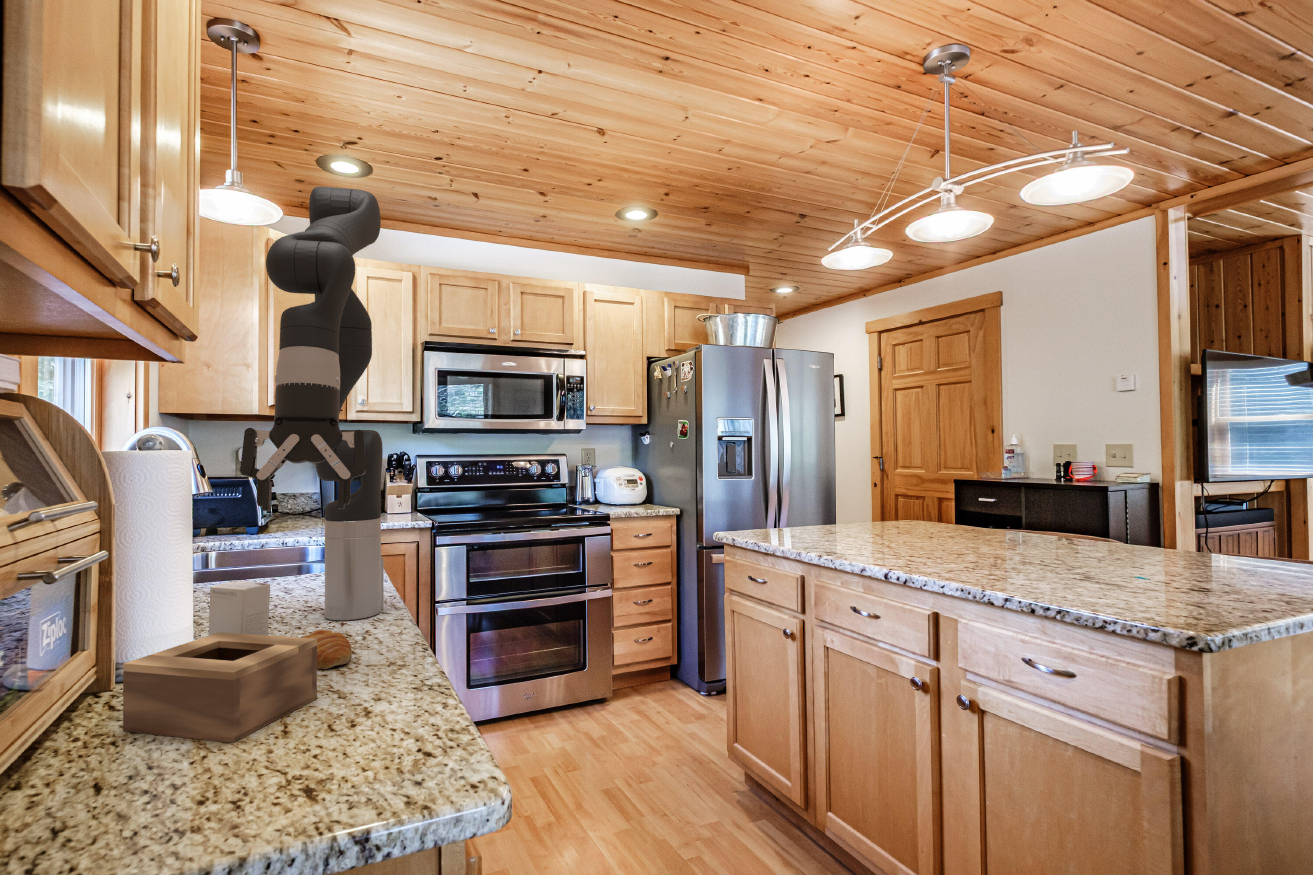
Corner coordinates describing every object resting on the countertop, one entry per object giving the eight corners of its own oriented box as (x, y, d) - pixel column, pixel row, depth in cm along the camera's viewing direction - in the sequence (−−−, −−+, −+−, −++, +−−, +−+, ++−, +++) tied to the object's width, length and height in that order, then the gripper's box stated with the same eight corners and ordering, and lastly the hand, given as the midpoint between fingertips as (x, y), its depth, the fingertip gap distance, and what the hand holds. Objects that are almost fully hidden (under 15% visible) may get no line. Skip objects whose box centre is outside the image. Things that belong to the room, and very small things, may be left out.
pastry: (364, 664, 93) (364, 636, 93) (312, 676, 88) (312, 648, 88) (339, 649, 100) (339, 624, 100) (289, 660, 95) (289, 634, 95)
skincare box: (205, 679, 87) (205, 586, 87) (236, 667, 91) (236, 579, 91) (241, 683, 85) (241, 589, 85) (271, 672, 89) (271, 582, 89)
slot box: (219, 690, 83) (219, 632, 83) (316, 698, 80) (316, 638, 80) (123, 730, 71) (123, 663, 71) (233, 742, 68) (233, 672, 68)
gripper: (367, 394, 94) (365, 509, 92) (250, 390, 88) (245, 512, 86) (366, 383, 87) (364, 507, 85) (240, 377, 81) (234, 510, 79)
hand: (304, 509), depth 85 cm, fingers open, 8 cm apart
